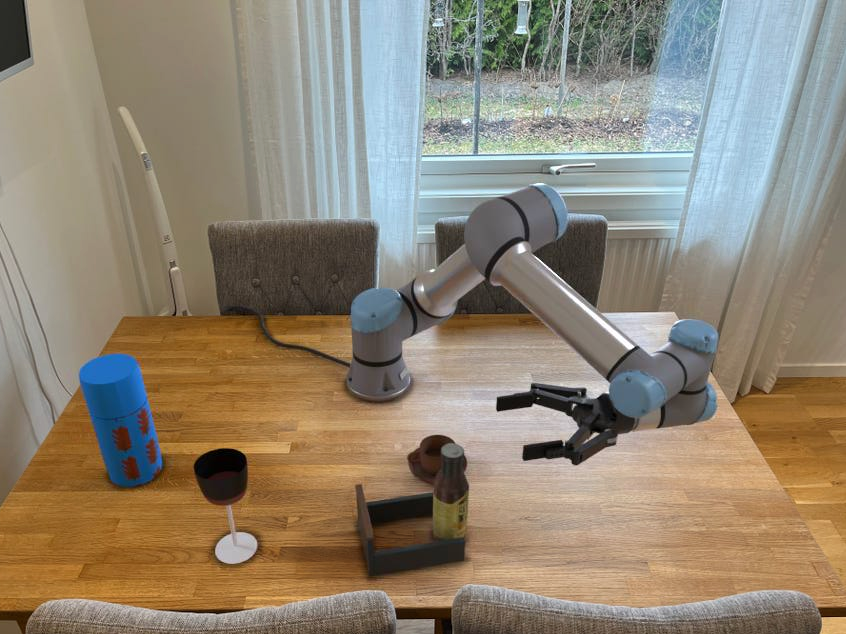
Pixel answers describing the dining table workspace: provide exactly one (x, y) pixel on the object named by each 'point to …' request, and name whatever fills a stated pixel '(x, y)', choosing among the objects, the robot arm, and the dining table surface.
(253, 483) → the dining table surface
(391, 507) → the caddy
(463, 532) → the sauce bottle
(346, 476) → the dining table surface
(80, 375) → the thermos
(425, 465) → the cup and saucer
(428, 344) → the dining table surface
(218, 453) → the wineglass
